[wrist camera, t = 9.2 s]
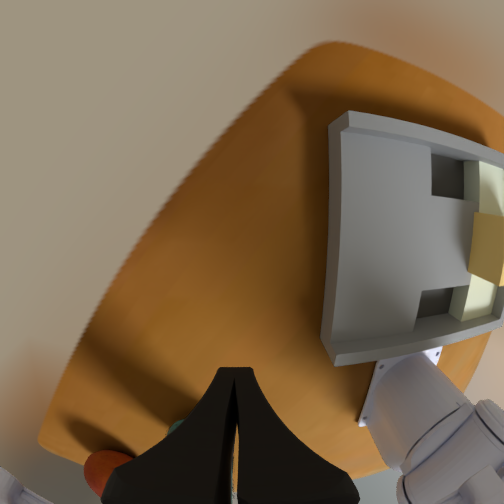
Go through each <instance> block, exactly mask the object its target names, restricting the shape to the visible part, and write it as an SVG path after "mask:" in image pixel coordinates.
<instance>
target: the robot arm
mask: <svg viewBox="0 0 504 504" xmlns="http://www.w3.org/2000/svg"><path fill="white" fill-rule="evenodd" d="M441 350H442V346H441V347H437V348H433V349H429V350H425V351H421V352H416V353H412V354H408V355H403V356H398V357H393V358H388V359H383V360H377V362H376V366H375V369H374V373H373V377H372V380H371V384H370V387H369V390H368V393H367V397H366V400H365V403H364V406H363V409H362V412H361V415H360V418H359V420H358V426H359V427H362V426H367V427H368V429H369V431H370V433H371V436H372V438H373V440H374V442H375V444H376V446H377V448H378V450H379V452H380V454H381V456H382V459H383V460H384V462H385V463H386V465H387V466H389V467H390V468H392V469H393V470H395V471H398V472H402V473H403V475H402V476H401V477H400V478H399V479H398V482H397V491H396V492H397V500H398V503H399V504H504V411H503V410H502V409H501V408H500V407H499V406H498V405H497V404H495V403H494V402H493V401H491V400H489V399H487V400H480V401H479V402H478V403H477V404H476V406H475V405H473V404H472V403H471V402H470V401H469V400H468V399H467V397H466V396H465V395H464V394H463V393H462V392H461V391H460V390H459V389H458V388H457V387H456V386H455V385H454V384H453V383H452V382H451V380H450V379H449V378H448V377H447V376H446V375H445V374H444V373H443V372H442V371H441V370H440V369H439V368H438V367H437V366H436V365H437V362H438V359H439V356H440V353H441ZM381 365H382V366H381ZM237 426H238V434H239V455H238V484H237V499H238V504H358V503H359V501H360V497H359V493H358V490H357V489H356V486H355V485H354V483H353V481H352V480H351V478H350V476H349V475H348V474H347V472H345V471H343V470H341V469H339V468H338V467H336V466H334V465H333V464H331V463H329V462H328V461H326V460H325V459H323V458H322V457H320V456H319V455H318V454H316V453H315V452H313V451H312V450H311V449H310V448H309V447H307V446H306V445H305V444H304V443H303V442H302V441H300V440H299V439H298V438H297V437H296V436H295V435H294V434H293V433H292V432H291V431H290V430H289V429H288V428H287V426H286V425H285V424H284V423H283V422H282V421H281V419H280V418H279V417H278V416H277V414H276V413H275V412H274V410H273V409H272V407H271V406H270V404H269V403H268V401H267V399H266V398H265V396H264V394H263V393H262V391H261V389H260V387H259V385H258V383H257V380H256V378H255V375H254V371H253V369H252V368H251V367H220V368H219V369H218V370H217V373H216V375H215V377H214V379H213V381H212V382H211V384H210V386H209V388H208V389H207V391H206V392H205V394H204V395H203V397H202V398H201V400H200V401H199V402H198V404H197V405H196V406H195V408H194V409H193V410H192V411H191V413H190V414H189V415H188V416H187V417H186V418H185V419H184V420H183V422H182V423H181V424H180V425H179V426H178V427H177V428H176V429H174V430H173V431H172V432H171V433H170V434H169V435H168V436H166V437H165V438H164V439H163V440H162V441H160V442H159V443H158V444H156V445H155V446H153V447H152V448H150V449H149V450H147V451H146V452H144V453H143V454H141V455H139V456H138V457H136V458H134V459H132V460H130V461H128V462H126V463H124V464H122V465H120V466H118V467H116V468H114V470H113V472H112V473H111V475H110V477H109V478H108V480H107V482H106V485H105V488H104V490H103V493H102V496H101V502H102V503H103V504H232V502H231V471H232V460H233V452H234V444H235V435H236V427H237ZM0 504H53V503H52V502H49V501H48V500H46V499H44V498H42V497H41V496H38V495H37V494H35V493H33V492H32V491H30V490H29V489H27V488H25V487H24V486H23V485H22V483H21V482H20V481H19V480H18V479H16V478H15V477H14V476H13V475H12V474H10V473H9V472H8V471H6V470H5V469H3V468H2V467H1V466H0Z"/></svg>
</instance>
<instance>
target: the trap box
mask: <svg viewBox="0 0 504 504" xmlns="http://www.w3.org/2000/svg"><path fill="white" fill-rule="evenodd" d="M328 140H329V223H328V248H327V266H326V280H325V293H324V304H323V315H322V324H321V333H320V339H321V341H322V343H323V345H324V347H325V349H326V351H327V353H328V355H329V357H330V359H331V361H332V363H333V365H334V367H337V366H344V365H352V364H359V363H365V362H371V361H377V360H383V359H388V358H393V357H398V356H403V355H408V354H412V353H416V352H421V351H425V350H429V349H433V348H437V347H441V346H444V345H448V344H451V343H455V342H458V341H461V340H465V339H468V338H471V337H474V336H477V335H480V334H483V333H486V332H489V331H492V330H494V329H497V328H500V327H502V325H503V321H504V286H497V285H495V284H493V283H491V282H488V281H486V280H484V279H482V278H480V277H478V276H475V275H473V274H471V273H469V272H468V266H469V259H470V252H471V244H472V235H473V224H474V212H479V213H487V214H494V215H501V216H504V154H503V153H501V152H498V151H496V150H494V149H491V148H489V147H486V146H484V145H481V144H479V143H476V142H473V141H471V140H468V139H465V138H462V137H459V136H456V135H453V134H450V133H447V132H444V131H440V130H437V129H434V128H430V127H427V126H423V125H419V124H415V123H411V122H407V121H403V120H398V119H394V118H389V117H384V116H379V115H374V114H368V113H362V112H356V111H349V110H348V111H347V112H345V113H344V114H343V115H341V116H340V117H339V118H337V119H336V120H334V121H333V122H332V123H330V124H329V125H328Z"/></svg>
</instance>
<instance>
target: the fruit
mask: <svg viewBox="0 0 504 504" xmlns="http://www.w3.org/2000/svg"><path fill="white" fill-rule="evenodd" d="M132 459H134V458H132V457H130V456H128V455H126V454H124V453H121V452H117V451H112V450H101V451H97V452H95V453H93V454H91V455H90V456H89V457H88V459H87V460H86V462H85V465H84V476H85V479H86V481H87V483H88V485H89V486H90V488H91V489H92V490H93V491H94V492H95V493H96V494H97V495H98V496H99V497H100V498H101V496H102V493H103V490H104V488H105V485H106V482H107V480H108V478H109V477H110V475H111V473H112V472H113V470H114V468H116V467H118V466H120V465H122V464H124V463H126V462H128V461H130V460H132Z"/></svg>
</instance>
